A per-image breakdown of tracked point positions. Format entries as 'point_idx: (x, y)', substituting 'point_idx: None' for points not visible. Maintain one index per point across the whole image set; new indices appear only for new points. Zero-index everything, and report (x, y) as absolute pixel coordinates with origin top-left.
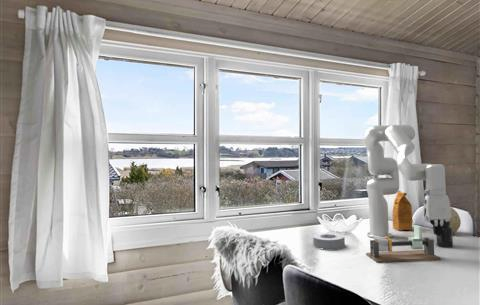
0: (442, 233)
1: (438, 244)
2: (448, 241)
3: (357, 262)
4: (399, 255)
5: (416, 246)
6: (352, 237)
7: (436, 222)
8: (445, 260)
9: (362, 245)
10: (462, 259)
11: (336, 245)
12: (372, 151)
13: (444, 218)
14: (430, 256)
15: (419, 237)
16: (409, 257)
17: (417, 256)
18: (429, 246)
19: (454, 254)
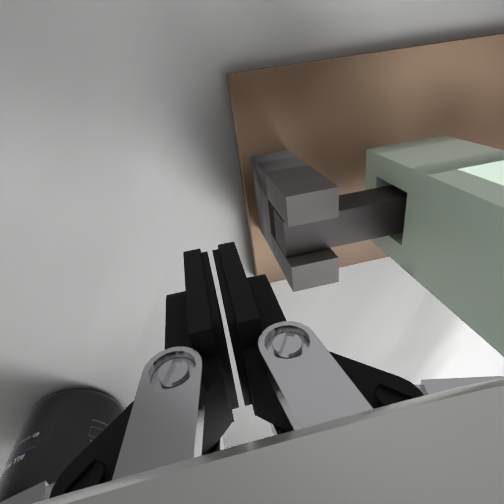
0: None
1: (121, 412)
2: (51, 424)
3: None
4: (490, 142)
5: (436, 144)
6: None
7: (299, 383)
8: (193, 55)
9: (498, 369)
10: (32, 85)
11: None
12: None
13: (94, 499)
14: (298, 109)
15: (469, 173)
16: (460, 83)
17: (391, 112)
18: (311, 167)
19: (65, 237)
